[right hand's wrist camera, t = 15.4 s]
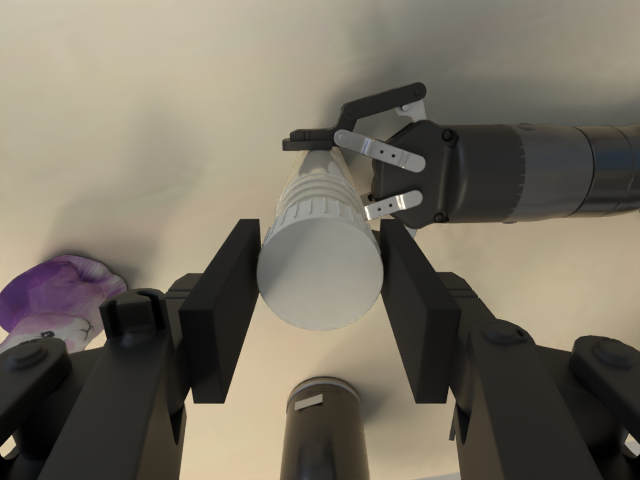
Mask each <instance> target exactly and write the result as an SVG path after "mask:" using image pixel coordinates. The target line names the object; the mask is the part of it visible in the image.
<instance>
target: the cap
mask: <svg viewBox="0 0 640 480" xmlns="http://www.w3.org/2000/svg"><path fill="white" fill-rule="evenodd" d="M380 254H381V251H380V249H379V246H378V244H377V241H376V239H375V236H374V234H373V233H372V230H371V228H370V225H369V224H367V223H366V222H365V220H364V219H363V218H362V215H361V214H358V213H357V212H356V211H354V210H353V209H352V208H351V206H349V207H348V206H347V205H345V204H342V203H340V202H339V201H333V200H326V199H325V198H323V199H314V200H312V199H309V200H307V201H304V202H300V203H299V202H297V203H296V205H294V206H292V207H290V208H288V209H287V208H286V209H285V211H284V212H283V213H282V214H281V215H280V216H279V217H278V218H277V217H276V218H275V221H274V223H273V225H272V227H271V228H270V227H269V229H268V232H267V234H266V237H265V239H264V242H263V244H262V248H261V251H260V253H259V256H258V264H257V283H258V288H259V291H260V293H261V296H262V298H263V299H264V301H265V303H266V304H267V306H268V307H269V308H270V309H271V310H272V311H273V312H274V313H275V314H276V315H277V316H278V317H279V318H281V319H282V320H284V321H286V322H287V323H289V324H291V325H294V326H296V327H299V328H303V329H307V330H315V331H326V330H333V329H337V328H341V327H344V326H347V325H349V324H351V323H353V322H355V321H356V320H358V319H359V318H361V317H362V316H363V315H364V314H366V313H367V312H368V311H369V309H370V308H371V307H372V306H373V304H374V303H375V302H376V300H377V298H378V296H379V294H380V291H381V288H382V284H383V276H384V271H383V263H382V259H381V256H380Z"/></svg>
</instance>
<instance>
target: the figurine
mask: <svg viewBox="0 0 640 480" xmlns="http://www.w3.org/2000/svg"><path fill="white" fill-rule="evenodd" d="M125 291H127V286H126V283H125V282H124V280H123V279H122V278H121V277H119V276H117V275H115V274H112V273H111V272H110V271H109V270H108V268H107V267H106V266H104V265H103V264H102V263H99V262H97V261H94V260H90V259H87V258H84V257H78V256H73V255H63V256H59V257H56V258H54V259H51V260H49V261H47V262H44V263H41V264H39V265H37V266H35V267H33V268H31V269H29V270H28V271H26V272H24V273H22V274H21V275H19V276H17V277H16V278H15V279H13V280H12V281H11V282H10V283H9V284H8V285H7V286H6V287H5V288H4V289H3V290H2V291H1V293H0V326H1V327H2V328H3V329H4V330H6V331H7V332H8V333H10V334H9V335H8V336H7V338H6V339H5V340H4V341H3V342H2V343H1V344H0V354H1V353H2V352H4V351H6V350H7V349H9V348H11V347H14V346H16V345H18V344H19V343H21V342H24V341H27V340H29V341H30V340H31V339H36V338H46V337H54V338H60V339H62V340H63V341H64V342H65V343H66V346H67V349H68V352H69V354H70V353H75V352H80V351H84V350H85V348H86V346H87V345H88V344H89V343H90V342H91V341H92V339H93V338H95V337H96V336H98V335H99V334H100V333H101V332H102V331H103V329H104V326H103V322H102V318H101V314H100V311H99V306H100V305H101V304H102V303H103V302H104V301H105V300H107V299H109V298H110V297H112V296H114V295H116V294H119V293H122V292H125Z"/></svg>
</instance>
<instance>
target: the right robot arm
mask: <svg viewBox="0 0 640 480" xmlns="http://www.w3.org/2000/svg"><path fill="white" fill-rule="evenodd" d="M379 249H380V251H381V254H380V256H381V259H382V263H383V271H384V276H383V284H382V288H381V291H380V292H381V295H382V299H383V302H384V305H385V308H386V311H387V314H388V317H389V321H390V324H391V327H392V330H393V333H394V336H395V339H396V343H397V346H398V349H399V352H400V355H401V358H402V362H403V365H404V368H405V371H406V374H407V377H408V380H409V384H410V387H411V390H412V393H413V396H414V399H415V402H416V404H446V401H447V395H448V389H449V386H450V388H451V390H452V393H453V395H454V397H455V399H456V403H455V409H454V414H453V420H452V425H451V431H450V437H449V440H452V441H454V438H455V434H456V442H457V450H458V458H459V466H460V474H461V480H640V454H639V455H638V456H636V455H635V454H633V453H632V452H631V451H630V450H629V449H628V447H627V446H626V445H625V444H624V443H625V441H626V438H627V436H628V434H629V433H630V434H631V435H632V437H633V438H634V439H635V440H636V441H637V442H638V443H639V444H640V352H639V351H638V350H636V349H635V348H633V347H631V346H629V345H626V344H624V343H622V342H621V341H618V340H615V339H610V338H608V337H601V336H591V335H589V336H582V337H579V338H578V339H577V340H575V343H574V346H573V349H572V352H568V351H563V350H558V349H553V348H548V347H543V346H539V345H536V344H535V342H534V340H533V338H532V337H531V336H530V335H529V333H528V332H527V331H525V330H524V329H522V328H521V327H519V326H518V325H515V324H513V323H511V322H508V321H505V320H501V319H496V318H495V316H494V315H493V314H492V313H491V311H490V310H489V309H488V308H487V307H486V305H485V304H484V303H483V302H482V300H481V299H480V298H478V295H477V294H476V293H475V292H474V291H473V290H472V288H471V287H470V286H469V284H468V283H467V282H466V281H465V280H464V279H463V278H461V277H459V276H458V275H456V274H454V273H453V272H436V271H435V270H434V268H433V267H432V266H431V264H430V263H429V261H428V260H427V258H426V257H425V255H424V254H423V252H422V251H421V249H420V248H419V246H418V245H417V243H416V242H415V241H414V239H413V238H412V236H411V235H410V233H409V232H408V230H407V229H406V227H405V226H404V224H403V223H402V221H401V220H400V219H381V223H380V238H379ZM260 251H261V238H260V223H259V219H240V220H239V221H238V223H237V224H236V226H235V227H234V229H233V230H232V232H231V233H230V235H229V236H228V238H227V239H226V241H225V242H224V243H223V245H222V246H221V248H220V249H219V251H218V252H217V254H216V255H215V257H214V258H213V260H212V261H211V263H210V264H209V265H208V267H207V268H206V270H205V271H204V273H188V274H186V275H185V276H183V277H181V278H180V279H178V280H176V281H175V282H174V283H173V285H172V286H171V287H170V288H169V290H168V292H166V293H165V294H164V293H163V292H161V291H160V290H157V289H152V288H139V289H134V290H129V291H125V292H122V293H119V294H116V295H114V296H112V297H110V298H109V299H107V300H105V301H104V302H103V303H102V304H101V305H100V306H99V311H100V314H101V318H102V322H103V326H104V329H105V333H106V337H107V340H106V342H105V344H104V346H103V347H100V348H95V349H90V350H85V351H80V352H75V353H70V354H69V352H68V349H67V346H66V343H65V342H64V341H63V340H62V339H60V338H54V337H46V338H36V339H31V340H30V341H29V340H27V341H24V342H21V343H19V344H18V345H16V346H14V347H11V348H9V349H7V350H6V351H4V352H2V353H1V354H0V447H1V446H2V445H3V444H4V443H5V441H6V440H7V439H8V438H9V437H10V436H11V435H12V436H13V438H14V441H15V443H16V446H15V447H14V448H13V450H12V451H11V452H10V453H9V454H7V455H6V456H5V457H4V458H3V457H2V456H1V454H0V480H179V475H180V467H181V459H182V451H183V443H184V435H185V427H186V418H187V416H186V409H185V403H184V401H185V399H186V397H187V394H188V392H189V390H190V388H191V389H192V395H193V401H194V404H224V402H225V399H226V396H227V393H228V390H229V387H230V384H231V380H232V377H233V374H234V371H235V368H236V365H237V361H238V358H239V355H240V352H241V349H242V346H243V343H244V339H245V336H246V333H247V330H248V327H249V324H250V321H251V317H252V314H253V311H254V308H255V305H256V302H257V299H258V295H259V292H260V291H259V288H258V283H257V264H258V256H259V253H260Z"/></svg>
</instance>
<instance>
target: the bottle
mask: <svg viewBox="0 0 640 480" xmlns="http://www.w3.org/2000/svg"><path fill="white" fill-rule="evenodd" d="M323 198H325V199H326V200H333V201H339V202H340V203H342V204H345V205H347V206H348V207H349V206H351V208H352V209H353V210H354V211H356V212H357V213H358V214H361V215H362V218H363V219H364V220H365V215H364V206H363V203H362V200H361V197H360V195H359V193H358V190H357V188H356V186H355V183H354V181H353V179H352V176H351V174H350V171H349V169H348V167H347V164H346V162H345V160H344V157H343V155H342V153H341V151H340V150H339V148H338V147H332V150H306V151H299V153H298V155H297V158H296V160H295V162H294V165H293V167H292V169H291V172H290V174H289V177H288V179H287V181H286V184H285V186H284V188H283V191H282V193H281V196H280V198H279V200H278V203H277V207H276V216H275V218H276V217H277V218H278V217H279V216H280V215H281V214H282V213H283V212H284V211H285V209H286V208H287V209H288V208H290V207H292V206H294V205H296V203H297V202H299V203H300V202H304V201H307V200H309V199H312V200H314V199H323Z"/></svg>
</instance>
